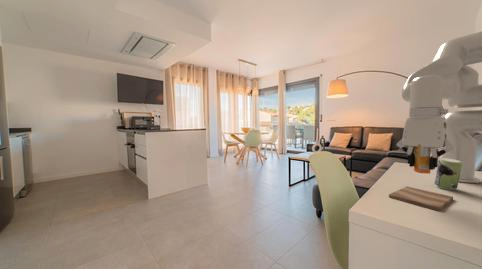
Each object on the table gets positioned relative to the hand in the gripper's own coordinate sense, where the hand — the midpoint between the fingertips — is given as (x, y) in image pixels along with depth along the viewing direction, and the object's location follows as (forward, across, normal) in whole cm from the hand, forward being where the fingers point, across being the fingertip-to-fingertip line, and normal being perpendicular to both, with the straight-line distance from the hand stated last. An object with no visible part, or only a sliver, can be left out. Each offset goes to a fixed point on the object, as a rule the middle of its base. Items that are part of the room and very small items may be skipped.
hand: (421, 167), depth 61 cm
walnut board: (+11, 0, 0) cm, 11 cm away
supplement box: (+2, 0, 0) cm, 2 cm away
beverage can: (+11, -2, -22) cm, 25 cm away
